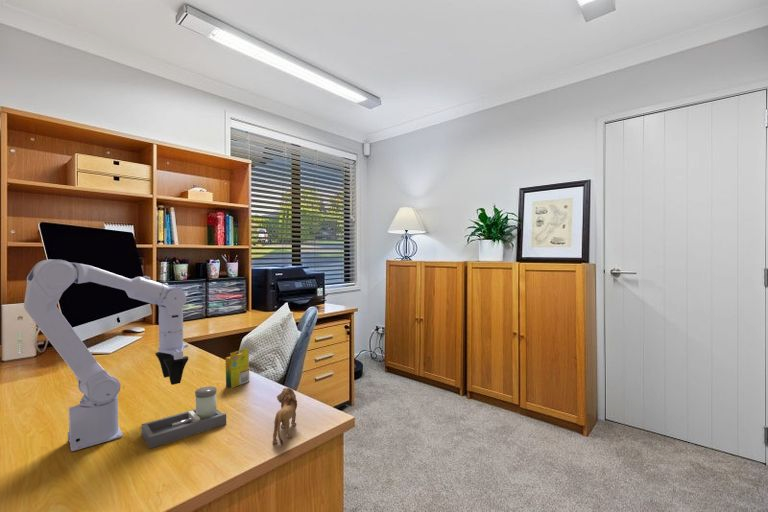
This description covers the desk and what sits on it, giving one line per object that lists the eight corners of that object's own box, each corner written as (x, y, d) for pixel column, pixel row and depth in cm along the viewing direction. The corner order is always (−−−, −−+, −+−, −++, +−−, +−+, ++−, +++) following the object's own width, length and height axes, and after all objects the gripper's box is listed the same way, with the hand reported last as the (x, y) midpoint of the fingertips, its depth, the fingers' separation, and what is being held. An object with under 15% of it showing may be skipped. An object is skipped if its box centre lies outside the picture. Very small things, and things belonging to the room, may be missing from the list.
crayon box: (244, 380, 127) (243, 346, 127) (249, 381, 125) (249, 347, 125) (225, 387, 121) (224, 351, 120) (231, 388, 119) (230, 353, 119)
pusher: (175, 434, 88) (175, 425, 88) (169, 425, 92) (168, 417, 92) (200, 426, 91) (200, 418, 91) (192, 418, 96) (192, 410, 96)
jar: (200, 427, 92) (199, 395, 92) (192, 420, 95) (192, 390, 95) (220, 420, 95) (219, 389, 95) (212, 414, 99) (211, 385, 99)
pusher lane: (149, 448, 83) (149, 437, 83) (141, 434, 89) (141, 424, 89) (226, 424, 95) (226, 414, 94) (214, 413, 101) (214, 403, 101)
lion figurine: (277, 419, 97) (277, 385, 97) (297, 417, 98) (297, 384, 98) (270, 449, 83) (270, 409, 82) (295, 446, 84) (294, 407, 83)
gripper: (195, 332, 98) (195, 383, 98) (179, 324, 108) (180, 370, 108) (165, 336, 93) (166, 390, 93) (152, 328, 103) (152, 376, 104)
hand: (171, 380), depth 100 cm, fingers open, 7 cm apart
